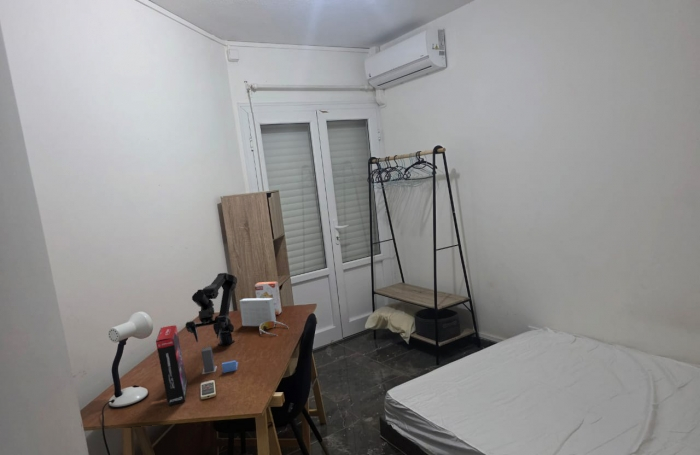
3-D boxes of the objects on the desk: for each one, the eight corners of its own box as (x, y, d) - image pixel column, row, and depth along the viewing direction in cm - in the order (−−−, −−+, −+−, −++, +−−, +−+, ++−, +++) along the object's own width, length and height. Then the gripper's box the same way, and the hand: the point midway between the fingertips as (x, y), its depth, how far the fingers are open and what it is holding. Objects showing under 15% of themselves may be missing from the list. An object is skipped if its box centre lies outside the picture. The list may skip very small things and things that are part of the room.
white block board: (195, 380, 178) (194, 370, 177) (200, 368, 190) (198, 358, 190) (242, 371, 182) (240, 361, 181) (243, 359, 194) (241, 350, 194)
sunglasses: (271, 325, 239) (271, 317, 239) (291, 331, 232) (291, 323, 231) (254, 334, 227) (254, 326, 227) (275, 341, 220) (275, 332, 219)
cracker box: (258, 316, 261) (254, 284, 258) (262, 313, 267) (257, 282, 264) (279, 314, 258) (274, 283, 256) (282, 311, 264) (277, 280, 262)
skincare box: (277, 323, 243) (273, 297, 241) (272, 326, 238) (268, 300, 236) (247, 322, 250) (243, 298, 248) (242, 326, 245) (238, 300, 243)
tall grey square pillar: (204, 372, 183) (201, 351, 181) (205, 368, 186) (202, 348, 185) (213, 370, 183) (210, 349, 182) (214, 367, 187) (211, 346, 186)
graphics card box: (185, 402, 159) (174, 336, 156) (166, 407, 157) (155, 340, 154) (187, 384, 175) (177, 323, 172) (170, 388, 173) (159, 327, 170)
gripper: (183, 306, 191) (182, 336, 182) (223, 299, 195) (225, 328, 186) (188, 317, 200) (188, 346, 190) (227, 310, 204) (228, 339, 194)
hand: (207, 340), depth 190 cm, fingers open, 9 cm apart
